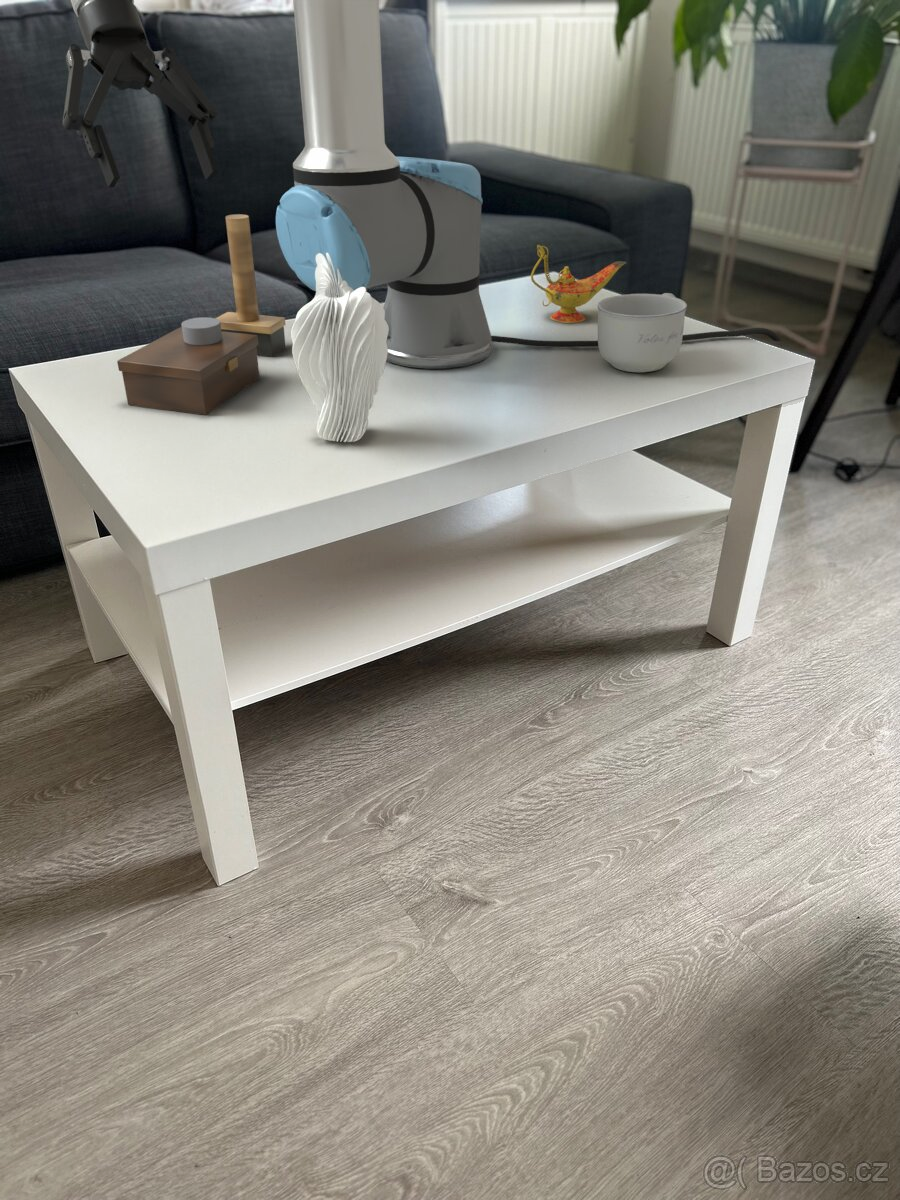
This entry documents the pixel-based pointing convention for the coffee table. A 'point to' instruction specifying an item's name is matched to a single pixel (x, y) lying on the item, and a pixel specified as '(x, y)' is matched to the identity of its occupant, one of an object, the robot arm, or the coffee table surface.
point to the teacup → (640, 330)
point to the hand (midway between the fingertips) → (164, 179)
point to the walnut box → (189, 372)
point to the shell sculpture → (340, 353)
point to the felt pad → (201, 331)
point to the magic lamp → (572, 289)
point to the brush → (249, 293)
